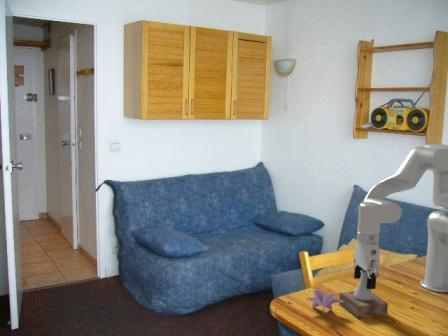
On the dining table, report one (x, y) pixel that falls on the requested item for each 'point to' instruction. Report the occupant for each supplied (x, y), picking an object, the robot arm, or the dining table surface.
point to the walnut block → (363, 306)
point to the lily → (323, 300)
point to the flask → (363, 288)
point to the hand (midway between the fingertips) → (364, 283)
